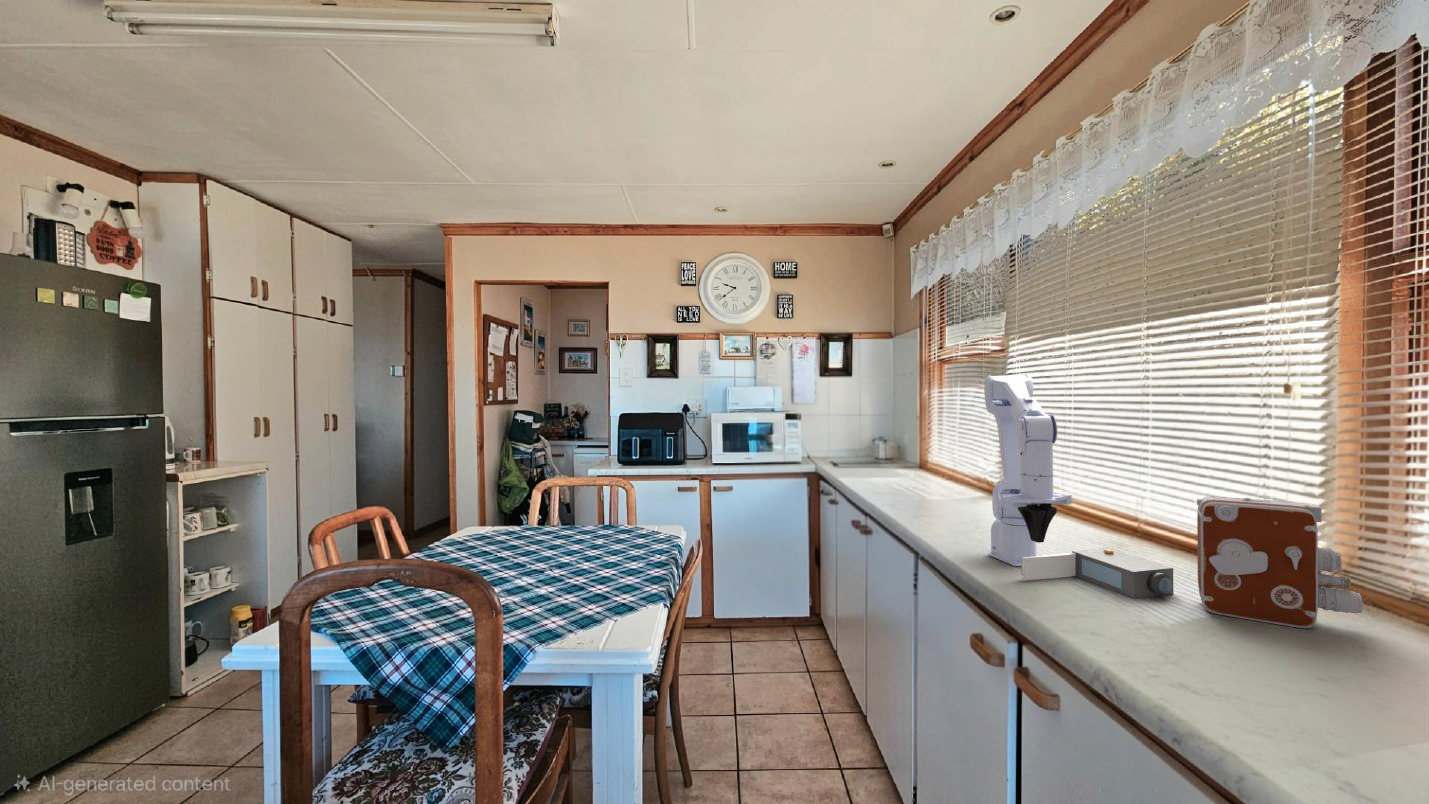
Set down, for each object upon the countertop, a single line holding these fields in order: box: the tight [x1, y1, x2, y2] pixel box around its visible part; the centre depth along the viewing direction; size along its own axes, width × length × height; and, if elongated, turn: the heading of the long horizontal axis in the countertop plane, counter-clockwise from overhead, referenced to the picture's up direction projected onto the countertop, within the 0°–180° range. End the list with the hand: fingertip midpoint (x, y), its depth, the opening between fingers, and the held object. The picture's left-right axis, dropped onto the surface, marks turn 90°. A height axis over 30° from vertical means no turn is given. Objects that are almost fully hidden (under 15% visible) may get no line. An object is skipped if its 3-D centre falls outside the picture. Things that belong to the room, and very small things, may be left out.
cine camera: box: [1196, 496, 1364, 629], centre depth 93 cm, size 9×19×20 cm, turn 53°
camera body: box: [1071, 547, 1174, 599], centre depth 110 cm, size 16×9×6 cm, turn 11°
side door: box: [1021, 552, 1077, 581], centre depth 116 cm, size 12×1×5 cm, turn 101°
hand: (1037, 541), depth 112 cm, fingers closed
